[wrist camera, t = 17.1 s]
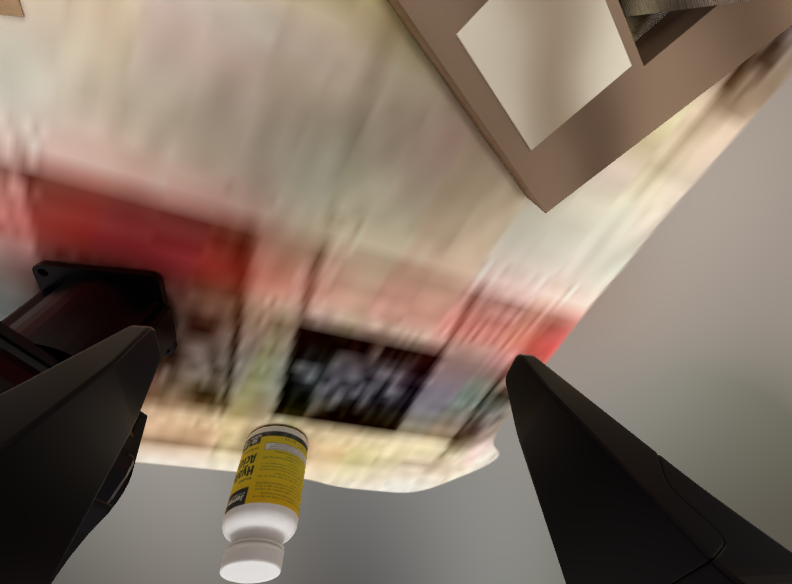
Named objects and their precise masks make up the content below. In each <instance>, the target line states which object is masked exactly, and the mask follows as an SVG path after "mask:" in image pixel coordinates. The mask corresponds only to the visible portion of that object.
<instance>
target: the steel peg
mask: <svg viewBox="0 0 792 584" xmlns="http://www.w3.org/2000/svg"><path fill="white" fill-rule="evenodd" d="M619 1H620V3H621V6H622V9H623V11H624V14H625V17H628V16H635V15H643V14H651V13H659V12H667V11H675V10H683V9H691V8H699V7H707V6H715V5H723V4H731V3H739V2H747V1H755V0H619Z"/></svg>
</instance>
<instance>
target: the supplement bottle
mask: <svg viewBox="0 0 792 584" xmlns="http://www.w3.org/2000/svg"><path fill="white" fill-rule="evenodd" d="M307 450H308V443H307V440H306V438H305V436H304V435H303V434H302V433H300V432H299V431H297V430H295V429H293V428H289V427H285V426H267V427H263V428H260V429H258V430H256V431H254V432H253V433H252V434H251V435H250V436H249V437H248V439H247V441H246V444H245V447H244V450H243V454H242V457H241V460H240V464H239V467H238V471H237V474H236V478H235V481H234V484H233V487H232V491H231V494H230V498H229V502H228V505H227V508H226V512H225V515H224V520H223V524H222V530H223V534H224V536H225V538H226V539H227V540H228V541H229V542H231V543H230V544H229V545H228V546H227V547H226V550H225V552H224V555H223V560H222V564H221V568H220V575H221V576H222V577H223V578H224V579H226V580H228V581H232V582H237V583H259V582H265V581H269V580H272V579H274V578H276V577H277V576H278V575H279V574H280V572H281V567H282V561H283V556H284V547H283V545H282V544H283V543H285V542H287V541H288V540H289V539H290V538H291V537H292V536H293V535H294V533H295V531H296V528H297V524H298V518H299V510H300V502H301V495H302V488H303V481H304V473H305V466H306V459H307Z"/></svg>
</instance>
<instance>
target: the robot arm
mask: <svg viewBox="0 0 792 584" xmlns="http://www.w3.org/2000/svg"><path fill="white" fill-rule="evenodd" d="M32 270H33V273H34V276H35V278H36V280H37V282H38V285H39V287H40V289H41V292H39V293H38V294H37V295H35V296H34V297H33V298H31V299H30V300H29V301H28V302H26V303H25V304H24V305H22V306H21V307H20V308H18V309H17V310H16V311H14V312H13V313H12V314H11V315H9V316H8V317H7V318H5V319H4V320H3V321H0V584H51V583H52V581H53V580H54V578H55V577H56V575H57V574H58V573H59V571H60V570H61V568H62V567H63V566H64V564H65V563H66V561H67V560H68V558H69V557H70V556H71V555H72V553H73V552H74V551H75V550H76V548H77V547H78V546H79V545H80V543H81V542H82V541H83V540H84V538H85V537H86V536H87V535H88V534H89V533H90V532H91V531H92V530H93V529H94V527H95V526H96V525H97V524H98V523H99V522H100V521H101V520H102V519H103V518H104V517H105V516H106V515H107V514H108V513H109V512H110V510H111V509H112V507H113V506H114V505H115V504H116V503H117V501H118V500H119V498H120V497H121V495H122V494H123V492H124V490H125V488H126V487H127V485H128V483H129V480H130V478H131V475H132V472H133V468H134V464H135V460H136V457H137V453H138V449H139V446H140V442H141V438H142V434H143V431H144V427H145V423H146V420H147V415H145V414H144V413H142V412H141V411H140V410H141V408H142V405H143V403H144V400H145V398H146V395H147V392H148V390H149V387H150V385H151V382H152V380H153V377H154V375H155V372H156V370H157V367H158V365H159V363H160V361H161V360H162V358H163V357H164V355H171V354H173V353H174V351H175V349H176V343H175V338H176V331H175V326H174V321H173V316H172V311H171V307H170V306H169V305H168V304H167V300H166V296H165V291H164V286H163V281H162V278H161V277H160V276H159V275H158V274H156V273H153V272H146V271H136V270H126V269H116V268H106V267H96V266H86V265H76V264H66V263H56V262H46V261H43V262H40V263H38V264H36V265H35V266H33V268H32ZM44 270H46V271H47V272H46V271H44ZM149 279H151V280H153V281H154V283H153V282H151V281H149ZM506 386H507V390H508V395H509V400H510V404H511V409H512V413H513V418H514V422H515V427H516V431H517V435H518V438H519V441H520V445H521V448H522V451H523V454H524V457H525V460H526V463H527V466H528V469H529V472H530V475H531V478H532V481H533V484H534V487H535V490H536V494H537V496H538V500H539V503H540V506H541V508H542V512H543V514H544V518H545V521H546V524H547V527H548V530H549V533H550V536H551V539H552V542H553V545H554V548H555V551H556V554H557V557H558V560H559V563H560V566H561V569H562V573H563V576H564V579H565V581H566V584H792V552H791V551H789V550H788V549H786V548H785V547H784V546H782V545H781V544H779V543H778V542H777V541H775V540H774V539H772V538H771V537H769V536H768V535H767V534H765V533H764V532H763V531H761V530H760V529H758V528H757V527H756V526H754V525H753V524H751V523H750V522H749V521H747V520H746V519H744V518H743V517H742V516H740V515H738V514H737V513H736V512H734V511H733V510H732V509H730V508H729V507H727V506H726V505H725V504H723V503H722V502H721V501H719V500H718V499H717V498H715V497H714V496H712V495H711V494H710V493H708V492H707V491H706V490H704V489H703V488H701V487H700V486H699V485H697V484H696V483H695V482H694V481H692V480H691V479H690V478H688V477H687V476H686V475H684V474H683V473H682V472H681V471H679V470H678V469H677V468H675V467H674V466H673V465H672V464H670V463H669V462H668V461H666V460H665V459H664V458H663V457H662V456H660V455H657V453H656V452H655V451H654V450H652V449H651V448H650V447H649V446H647V445H646V444H645V443H644V442H642V441H641V440H640V439H639V438H637V437H636V436H635V435H634V434H632V433H631V432H630V431H628V430H627V429H626V428H625V427H623V426H622V425H621V424H620V423H618V422H617V421H616V420H614V419H613V418H612V417H611V416H609V415H608V414H607V413H606V412H604V411H603V410H602V409H600V408H599V407H598V406H597V405H595V404H594V403H593V402H592V401H590V400H589V399H588V398H587V397H585V396H584V395H583V394H582V393H580V392H579V391H578V390H576V389H575V388H574V387H572V386H571V385H570V384H569V383H567V382H566V381H565V380H563V378H561V377H560V376H558V375H557V374H556V373H555V372H553V371H552V370H551V369H550V368H549V367H547V366H546V365H545V364H544V363H542V362H541V361H540V360H538V359H537V358H536V357H535V356H533V355H524V354H519V355H517V356H516V357H515V359H514V361H513V363H512V365H511V367H510V369H509V371H508V373H507V375H506Z"/></svg>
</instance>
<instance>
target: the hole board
mask: <svg viewBox="0 0 792 584" xmlns="http://www.w3.org/2000/svg"><path fill="white" fill-rule="evenodd" d="M388 2H389V3H390V4H391V6H392V7H393V9H394V10H395V11H396V13H397V14H398V16H399V17H400V19H401V20H402V21H403V23H404V24H405V26H406V27H407V28H408V30H409V31H410V33H411V34H412V35H413V37H414V38H415V40H416V41H417V43H418V44H419V45H420V47H421V48H422V50H423V51H424V52H425V54H426V55H427V57H428V58H429V60H430V61H431V62H432V64H433V65H434V67H435V68H436V69H437V71H438V72H439V74H440V75H441V77H442V78H443V79H444V81H445V82H446V84H447V85H448V86H449V88H450V89H451V91H452V92H453V93H454V95H455V96H456V98H457V99H458V101H459V102H460V103H461V105H462V106H463V108H464V109H465V110H466V112H467V113H468V115H469V116H470V118H471V119H472V120H473V122H474V123H475V125H476V126H477V127H478V129H479V130H480V132H481V133H482V134H483V136H484V137H485V139H486V140H487V142H488V143H489V144H490V146H491V147H492V149H493V150H494V151H495V153H496V154H497V156H498V157H499V159H500V160H501V161H502V163H503V164H504V166H505V167H506V168H507V170H508V171H509V173H510V174H511V175H512V177H513V178H514V180H515V181H516V183H517V184H518V185H519V187H520V188H521V190H522V191H523V192H524V194H525V195H526V197H527V198H528V199H530V200H531V201H532V202H533V203H534V204H535V205H537V206H538V207H539V208H540V209H541V210H542V211H544V212H545V213H547V212H548V211H549V210H551V209H552V208H553V207H554V206H556V205H557V204H558V203H560V202H561V201H562V200H564V199H565V198H566V197H568V196H569V195H570V194H571V193H573V192H574V191H575V190H577V189H578V188H579V187H581V186H582V185H583V184H585V183H586V182H587V181H588V180H590V179H591V178H592V177H594V176H595V175H596V174H598V173H599V172H600V171H602V170H603V169H604V168H605V167H607V166H608V165H609V164H611V163H612V162H613V161H615V160H616V159H617V158H619V157H620V156H621V155H622V154H624V153H625V152H626V151H628V150H629V149H630V148H632V147H633V146H634V145H636V144H637V143H638V142H639V141H641V140H642V139H643V138H645V137H646V136H647V135H649V134H650V133H651V132H653V131H654V130H655V129H656V128H658V127H659V126H660V125H662V124H663V123H664V122H666V121H667V120H668V119H670V118H671V117H672V116H673V115H675V114H676V113H677V112H679V111H680V110H681V109H683V108H684V107H685V106H687V105H688V104H689V103H690V102H692V101H693V100H694V99H696V98H697V97H698V96H700V95H701V94H702V93H704V92H705V91H706V90H707V89H709V88H710V87H711V86H713V85H714V84H715V83H717V82H718V81H719V80H721V79H722V78H723V77H724V76H726V75H727V74H728V73H730V72H731V71H732V70H734V69H735V68H736V67H738V66H739V65H740V64H741V63H743V62H744V61H745V60H747V59H748V58H749V57H751V56H752V55H753V54H755V53H756V52H757V51H758V50H760V49H761V48H762V47H764V46H765V45H766V44H768V43H769V42H770V41H772V40H773V39H774V38H775V37H777V36H778V35H779V34H781V33H782V32H783V31H785V30H786V29H787V28H789V27H790V26H791V25H792V0H755V1H747V2H739V3H731V4H723V5H715V6H707V7H699V8H691V9H683V10H675V11H671V12H670V13H669V14H668V15H667V16H665V17H664V18H663V19H662V20H661V21H660V22H658V23H657V24H656V25H655V26H654V27H653V28H652V29H650V30H649V31H648V32H647V33H646V34H645V35H643V36H642V37H641V38H640V39H639V40H638V41H636V42H634V40H633V37H632V35H631V32H630V29H629V27H628V24H627V22H626V19H625V16H624V14H623V11H622V9H621V6H620V4H619V1H618V0H388Z"/></svg>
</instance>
